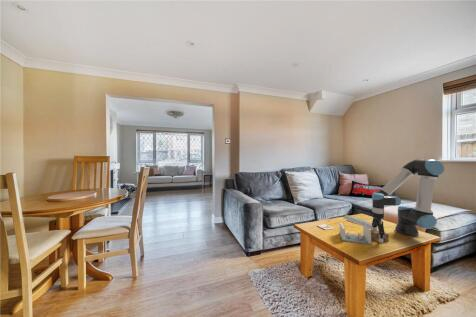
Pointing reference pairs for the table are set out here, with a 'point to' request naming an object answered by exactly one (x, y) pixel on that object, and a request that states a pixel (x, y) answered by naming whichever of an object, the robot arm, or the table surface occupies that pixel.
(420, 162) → the robot arm
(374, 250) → the table surface
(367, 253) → the table surface
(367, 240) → the peg frame
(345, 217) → the crown molding
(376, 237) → the shelf block
